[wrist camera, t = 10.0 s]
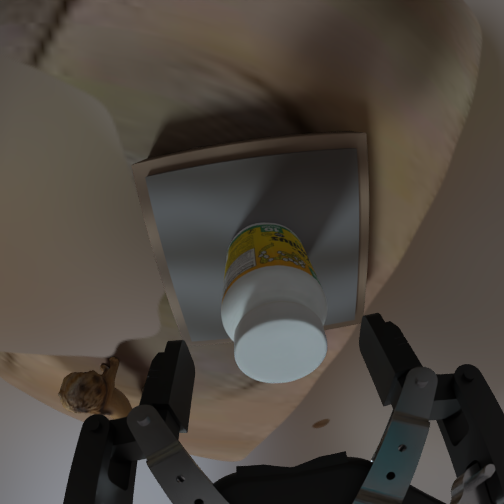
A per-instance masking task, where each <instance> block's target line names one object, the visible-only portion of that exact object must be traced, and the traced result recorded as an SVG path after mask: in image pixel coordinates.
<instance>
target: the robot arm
mask: <svg viewBox="0 0 504 504" xmlns="http://www.w3.org/2000/svg"><path fill="white" fill-rule="evenodd" d="M407 342H408V341H407V340H406V338H405V337H404V335H403V333H402V332H401V330H400V329H399V327H398V326H396V325H395V324H393V323H392V322H390V321H389V322H385V321H384V320H383V318H382V316H381V315H380V314H379V313H375V314H370V315H365V316H363V317H362V321H361V329H360V337H359V347H360V351H361V354H362V356H363V359H364V361H365V363H366V365H367V368H368V370H369V373H370V375H371V377H372V380H373V382H374V385H375V387H376V389H377V392H378V394H379V397H380V399H381V402H382V404H383V406H387V405H390V404H391V405H392V407H393V411H392V414H391V416H390V419H389V422H388V424H387V426H386V429H385V431H384V434H383V436H382V438H381V440H380V443H379V445H378V447H377V449H376V451H375V453H374V455H373V457H372V459H371V461H368V460H365V459H362V458H355V457H347V455H346V451H345V452H340V453H336V454H331V455H326V456H321V457H318V458H316V459H313V460H311V461H308V462H306V463H303V464H300V465H298V466H295V467H280V466H271V465H252V466H237V467H236V469H237V470H236V471H237V472H236V473H232V474H230V475H227V476H225V477H223V478H221V479H219V480H218V481H216V482H215V483H214V484H213V483H212V482H211V481H210V480H209V478H208V477H207V476H206V475H205V474H204V472H203V471H202V470H201V469H200V468H199V467H198V465H197V464H196V463H195V461H194V460H193V459H192V458H191V456H190V455H189V454H188V452H187V451H186V450H185V449H184V447H183V446H182V445H181V443H180V442H179V440H178V439H179V433H187V432H188V423H189V415H190V408H191V400H192V393H193V386H194V378H195V366H194V362H193V360H192V357H191V355H190V352H189V349H188V347H187V344H186V342H185V340H176V341H168V342H167V344H166V348H165V352H159V353H158V354H157V355H156V356H155V358H154V359H153V360H152V363H151V366H150V369H149V370H150V371H149V373H148V376H147V377H148V378H147V380H146V383H145V386H144V390H143V394H142V397H141V401H140V404H139V406H136V407H135V408H133V409H132V410H131V411H130V412H129V414H128V416H127V417H123V418H119V419H114V420H108V419H107V417H105V416H104V415H101V414H94V415H92V416H90V417H88V418H87V419H86V420H85V421H84V423H83V425H82V429H81V432H80V436H79V439H78V443H77V447H76V450H75V454H74V458H73V462H72V466H71V470H70V474H69V479H68V483H67V487H66V492H65V498H64V502H63V504H133V493H134V484H135V476H136V467H137V460H141V459H147V461H146V463H147V465H148V467H149V469H150V470H151V472H152V474H153V475H154V477H155V478H156V480H157V481H158V483H159V484H160V486H161V487H162V489H163V490H164V492H165V493H166V495H167V496H168V498H169V499H170V500H171V502H172V503H173V504H446V503H444V502H442V501H440V500H438V499H436V498H434V497H432V496H430V495H428V494H426V493H424V492H423V491H421V490H419V489H417V488H415V487H413V486H412V485H410V483H411V480H412V478H413V475H414V473H415V470H416V467H417V465H418V462H419V459H420V456H421V453H422V450H423V447H424V444H425V441H426V438H427V434H428V431H429V427H430V422H429V420H436V421H437V423H438V426H439V428H440V431H441V433H442V436H443V439H444V441H445V444H446V447H447V450H448V452H449V455H450V458H451V461H452V464H453V467H454V470H455V473H456V476H457V478H456V480H455V481H454V483H453V485H452V488H451V496H452V497H451V502H450V504H504V413H503V411H502V409H501V408H500V406H499V404H498V402H497V400H496V398H495V396H494V395H493V393H492V391H491V389H490V387H489V386H488V384H487V382H486V381H485V379H484V377H483V375H482V374H481V372H480V371H479V369H478V368H476V367H475V366H473V365H470V364H464V365H461V366H459V367H458V368H457V370H456V371H455V373H454V374H441V375H440V374H435V372H434V371H432V370H431V369H429V368H427V367H423V366H422V365H421V363H420V361H419V360H418V358H417V356H416V355H415V353H414V351H413V350H412V348H411V346H410V345H409V343H407Z"/></svg>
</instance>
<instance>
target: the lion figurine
mask: <svg viewBox="0 0 504 504" xmlns="http://www.w3.org/2000/svg"><path fill="white" fill-rule="evenodd" d="M109 361H110V362H111V363H110V369H109V367H107V366H106V365H101V367H100V369H101V370H102V371H103V374H102V375H100V374H97V373H96V372H95V371H94V370H92V371H89V372H85V373H83V372H78V373H77V372H74V373H70V374H69V375H67V376H66V377H65V378H64V379H63V383H62V386H61V388H60V392H59V393H58V396H59V397H60V401H61V402H62V405H63V407H64V408H65V409H67V410H68V411H70V412H74V413H91V414H101V415H105V414H106V415H109V416H110V417H111V418H113V419H119V418H123V417H127V416H128V414H129V412H130V411H131V410H132V407H131V405H130V403H129V400H128V399H127V398H126V396H125V395H124V394H123V393H122V392H121V391H119V390H118V389H116V388H115V387H114V386H115V377H116V373H117V369H118V366H119V360H118V359H117V358H115V357H111V358H110V359H109ZM143 390H144V388H143V389H142V392H143Z"/></svg>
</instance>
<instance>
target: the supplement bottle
mask: <svg viewBox="0 0 504 504" xmlns="http://www.w3.org/2000/svg"><path fill="white" fill-rule="evenodd" d="M326 316H327V301H326V297H325V294H324V291H323V289H322V287H321V284H320V282H319V280H318V278H317V276H316V273H315V271H314V269H313V267H312V265H311V262H310V260H309V258H308V256H307V254H306V252H305V249H304V247H303V245H302V243H301V241H300V240H299V238H298V237H297V236H296V234H295V233H294V232H292V231H291V230H290V229H288V228H287V227H285V226H283V225H280V224H276V223H256V224H252V225H249V226H247V227H246V228H244V229H242V230H241V231H240V232H239V233H238V234H237V235H236V236H235V237H234V238H233V240H232V241H231V243H230V245H229V248H228V251H227V256H226V265H225V275H224V285H223V295H222V306H221V317H222V322H223V326H224V328H225V331H226V333H227V334H228V336H229V337H230V338H231V339H232V341H233V342H234V356H235V360H236V363H237V365H238V367H239V368H240V369H241V370H242V371H243V372H244V373H245V374H246V375H247V376H249V377H251V378H253V379H255V380H258V381H261V382H267V383H284V382H290V381H294V380H297V379H300V378H302V377H304V376H306V375H308V374H309V373H311V372H312V371H314V370H315V369H316V368H317V367H318V366H319V365H320V364H321V362H322V361H323V359H324V358H325V355H326V352H327V339H326V335H325V332H324V328H323V325H324V323H325V320H326Z"/></svg>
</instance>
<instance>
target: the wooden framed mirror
mask: <svg viewBox="0 0 504 504" xmlns="http://www.w3.org/2000/svg"><path fill="white" fill-rule="evenodd" d="M132 170H133V175H134V179H135V184H136V188H137V192H138V197H139V201H140V205H141V209H142V213H143V217H144V221H145V224H146V228H147V232H148V235H149V239H150V242H151V246H152V249H153V253H154V256H155V260H156V263H157V266H158V269H159V273H160V276H161V279H162V283H163V285H164V289H165V292H166V295H167V298H168V301H169V304H170V307H171V310H172V312H173V315H174V318H175V321H176V324H177V326H178V329H179V332H180V335H181V337H182V340H185V342H186V344H187V346H200V345H213V344H224V343H234V342H233V341H232V339H231V338H230V337H229V336H228V334H227V333H226V331H225V328H224V326H223V322H222V317H221V306H222V295H223V285H224V275H225V265H226V256H227V251H228V248H229V245H230V243H231V241H232V240H233V238H234V237H235V236H236V235H237V234H238V233H239V232H240V231H241V230H242V229H244V228H246V227H247V226H249V225H252V224H256V223H276V224H280V225H283V226H285V227H287V228H288V229H290V230H291V231H292V232H294V233H295V234H296V236H297V237H298V238H299V240H300V241H301V243H302V245H303V247H304V249H305V252H306V254H307V256H308V258H309V260H310V262H311V265H312V267H313V269H314V271H315V273H316V276H317V278H318V280H319V282H320V284H321V287H322V289H323V291H324V294H325V297H326V301H327V316H326V320H325V323H324V325H323V328H324V330H328V329H334V328H339V327H344V326H350V325H355V324H360V323H361V321H362V317H363V313H364V303H365V292H366V280H367V264H368V243H369V174H368V152H367V137H366V133H361V132H352V131H339V132H321V133H306V134H294V135H284V136H274V137H266V138H257V139H250V140H242V141H236V142H229V143H223V144H217V145H211V146H205V147H200V148H194V149H189V150H184V151H179V152H174V153H170V154H165V155H161V156H156V157H152V158H148V159H145V160H143V161H140V162H138V163H135V164H133V165H132Z"/></svg>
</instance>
